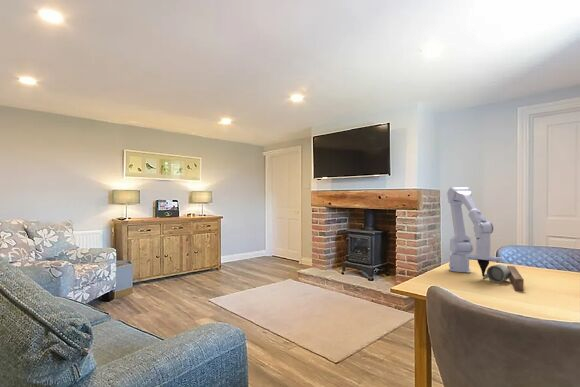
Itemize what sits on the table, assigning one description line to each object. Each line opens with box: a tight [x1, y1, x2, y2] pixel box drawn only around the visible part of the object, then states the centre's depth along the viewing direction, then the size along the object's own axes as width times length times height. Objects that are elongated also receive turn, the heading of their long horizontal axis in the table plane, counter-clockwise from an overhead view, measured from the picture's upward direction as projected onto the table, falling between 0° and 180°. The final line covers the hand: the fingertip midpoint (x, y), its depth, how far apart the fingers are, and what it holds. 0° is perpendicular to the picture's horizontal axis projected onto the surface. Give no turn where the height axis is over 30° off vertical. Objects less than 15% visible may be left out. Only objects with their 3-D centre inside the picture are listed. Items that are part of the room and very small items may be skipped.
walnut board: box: [506, 265, 525, 292], centre depth 147 cm, size 3×26×5 cm, turn 152°
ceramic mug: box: [482, 264, 510, 284], centre depth 152 cm, size 11×8×8 cm
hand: (483, 275), depth 153 cm, fingers closed, pressing on ceramic mug
